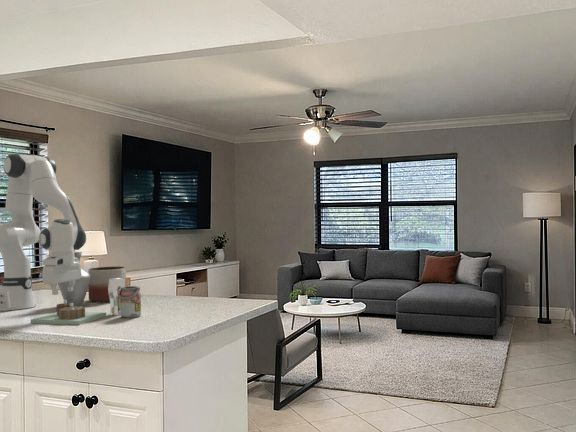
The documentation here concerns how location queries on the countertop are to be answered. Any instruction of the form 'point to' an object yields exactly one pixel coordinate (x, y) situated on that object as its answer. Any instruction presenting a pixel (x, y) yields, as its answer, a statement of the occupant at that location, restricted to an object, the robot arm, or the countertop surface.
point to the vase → (76, 287)
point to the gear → (62, 306)
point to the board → (69, 316)
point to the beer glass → (115, 294)
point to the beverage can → (130, 301)
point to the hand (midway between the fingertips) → (63, 292)
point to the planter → (103, 281)
